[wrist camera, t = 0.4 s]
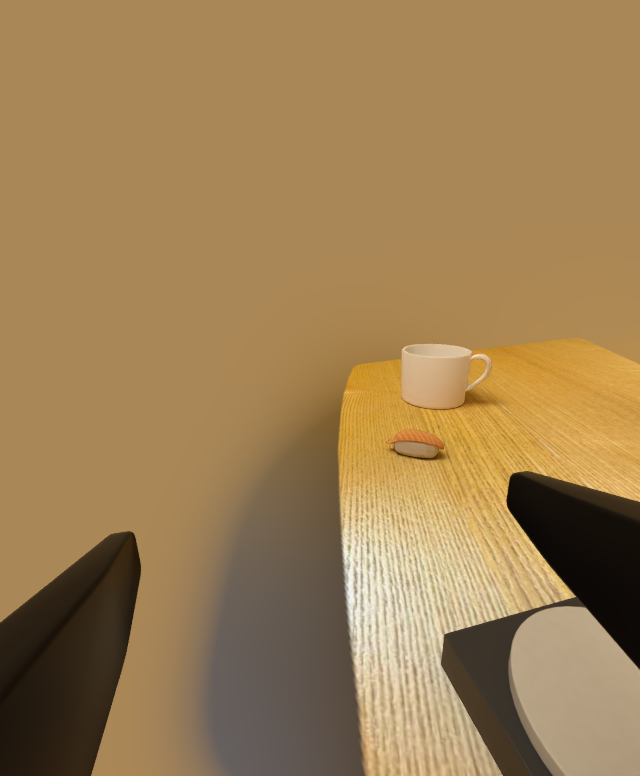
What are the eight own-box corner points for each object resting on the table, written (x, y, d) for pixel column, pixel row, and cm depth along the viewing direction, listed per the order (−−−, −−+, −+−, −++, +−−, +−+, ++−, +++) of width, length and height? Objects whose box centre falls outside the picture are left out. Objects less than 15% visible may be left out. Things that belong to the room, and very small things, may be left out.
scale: (930, 910, 12) (980, 860, 11) (681, 1096, 9) (719, 1050, 8) (601, 615, 22) (613, 575, 21) (440, 664, 19) (445, 622, 18)
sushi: (442, 463, 39) (445, 438, 38) (384, 455, 41) (385, 431, 40) (443, 452, 42) (445, 428, 41) (387, 445, 44) (388, 422, 43)
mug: (390, 403, 57) (392, 353, 55) (409, 385, 66) (412, 341, 63) (482, 418, 51) (489, 363, 48) (490, 396, 59) (496, 348, 57)
